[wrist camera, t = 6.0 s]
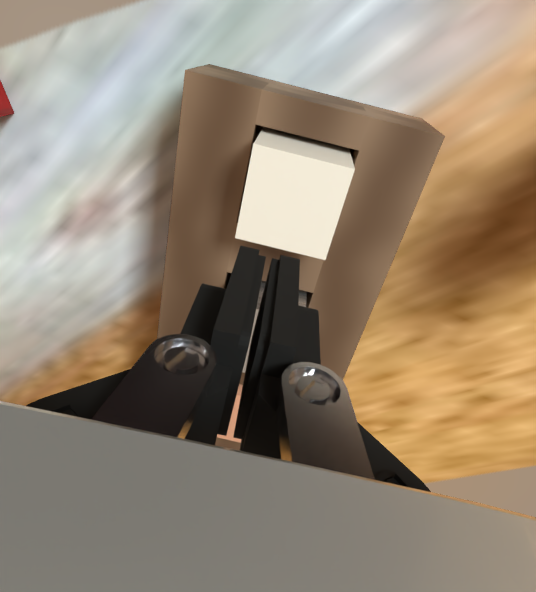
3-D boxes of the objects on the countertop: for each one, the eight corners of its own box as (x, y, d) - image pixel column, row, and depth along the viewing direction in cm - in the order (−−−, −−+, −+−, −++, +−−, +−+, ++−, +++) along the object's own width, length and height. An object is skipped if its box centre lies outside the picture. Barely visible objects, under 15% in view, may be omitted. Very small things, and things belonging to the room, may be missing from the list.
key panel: (422, 118, 24) (445, 136, 19) (307, 416, 36) (306, 466, 32) (209, 64, 23) (185, 69, 19) (167, 383, 36) (147, 430, 32)
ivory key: (349, 148, 22) (355, 169, 18) (324, 228, 24) (325, 260, 20) (263, 126, 21) (253, 143, 18) (246, 209, 24) (234, 238, 20)
